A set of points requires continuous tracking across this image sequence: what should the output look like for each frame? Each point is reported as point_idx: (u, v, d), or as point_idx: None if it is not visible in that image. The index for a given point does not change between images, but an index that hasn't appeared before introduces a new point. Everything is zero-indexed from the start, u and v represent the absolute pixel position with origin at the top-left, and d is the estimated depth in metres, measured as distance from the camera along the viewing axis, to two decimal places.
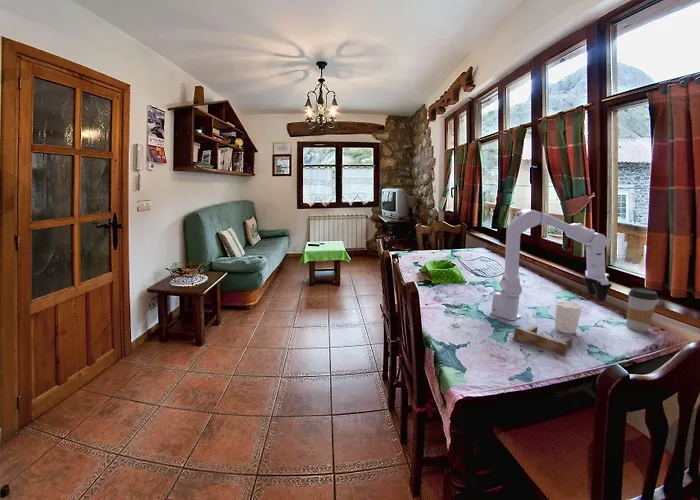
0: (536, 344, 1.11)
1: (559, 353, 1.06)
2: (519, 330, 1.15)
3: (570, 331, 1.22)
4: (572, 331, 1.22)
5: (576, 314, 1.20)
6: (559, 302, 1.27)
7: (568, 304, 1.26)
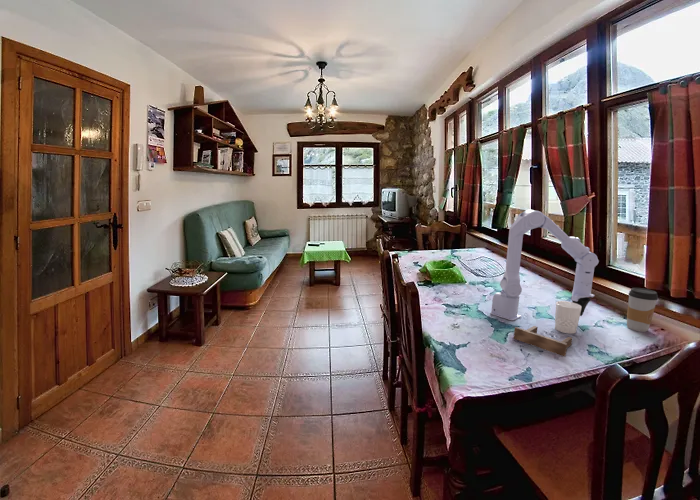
0: (536, 344, 1.11)
1: (559, 353, 1.06)
2: (519, 330, 1.15)
3: (570, 331, 1.22)
4: (572, 331, 1.22)
5: (576, 314, 1.20)
6: (559, 302, 1.27)
7: (568, 304, 1.26)
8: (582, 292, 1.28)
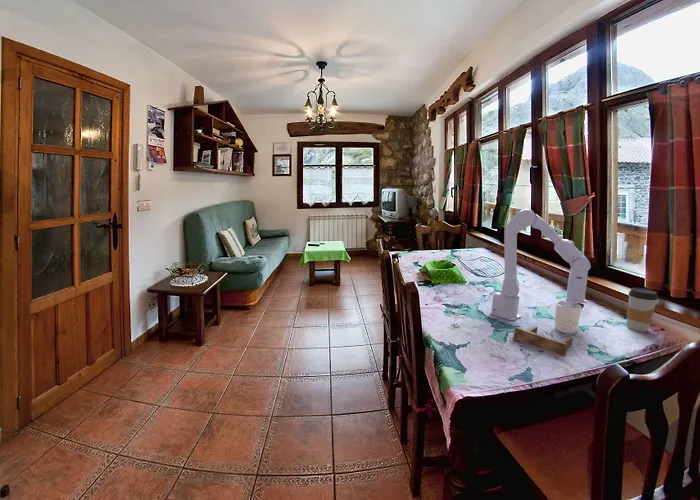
0: (536, 344, 1.11)
1: (559, 353, 1.06)
2: (519, 330, 1.15)
3: (570, 331, 1.22)
4: (572, 331, 1.22)
5: (576, 314, 1.20)
6: (559, 302, 1.26)
7: None
8: (575, 298, 1.24)
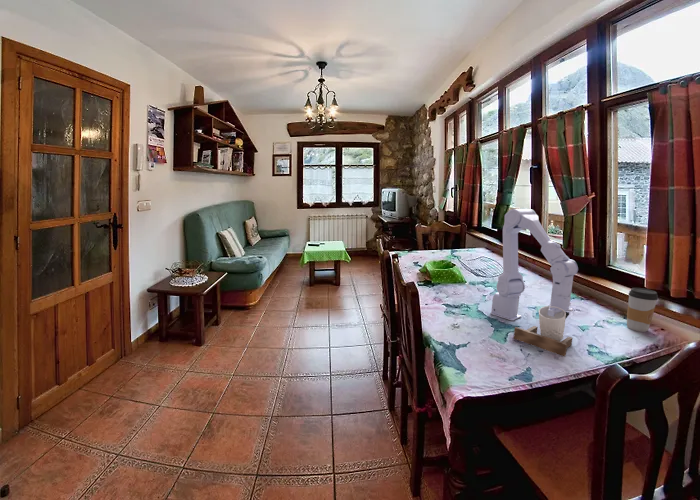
0: (536, 344, 1.11)
1: (559, 353, 1.06)
2: (519, 330, 1.15)
3: None
4: (558, 339, 1.14)
5: (560, 324, 1.11)
6: (542, 308, 1.17)
7: None
8: (560, 306, 1.15)
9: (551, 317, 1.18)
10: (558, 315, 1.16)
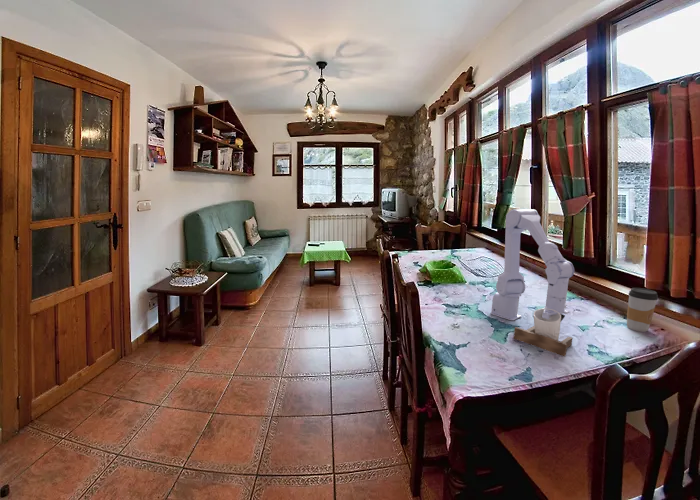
0: (536, 344, 1.11)
1: (559, 353, 1.06)
2: (519, 330, 1.15)
3: None
4: None
5: (555, 327, 1.09)
6: (537, 311, 1.15)
7: None
8: (555, 308, 1.13)
9: (546, 320, 1.16)
10: (553, 318, 1.14)
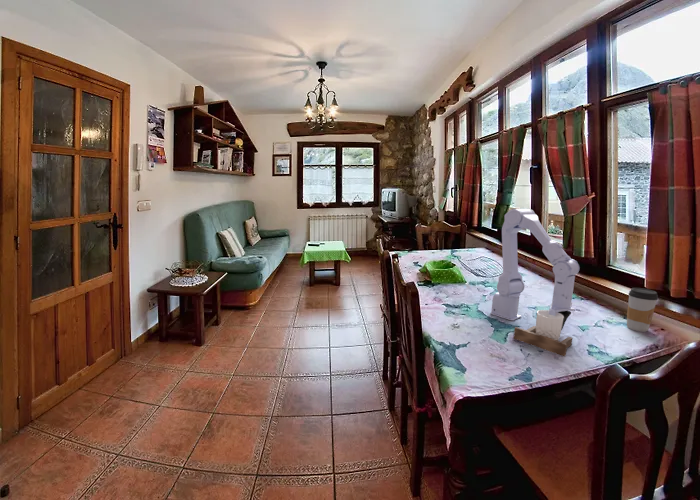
0: (536, 344, 1.11)
1: (559, 353, 1.06)
2: (519, 330, 1.15)
3: None
4: None
5: (557, 325, 1.10)
6: (540, 311, 1.17)
7: None
8: (561, 305, 1.16)
9: None
10: None
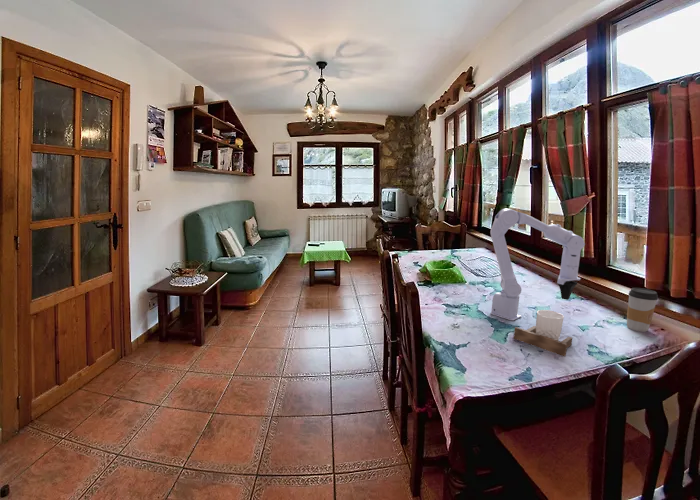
0: (536, 344, 1.11)
1: (559, 353, 1.06)
2: (519, 330, 1.15)
3: None
4: None
5: (557, 325, 1.10)
6: (540, 311, 1.17)
7: (550, 313, 1.17)
8: (568, 275, 1.27)
9: None
10: None
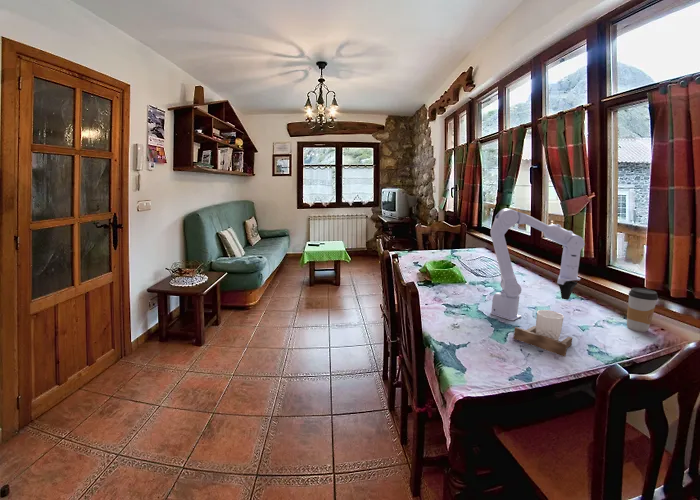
0: (536, 344, 1.11)
1: (559, 353, 1.06)
2: (519, 330, 1.15)
3: None
4: None
5: (557, 325, 1.10)
6: (540, 311, 1.17)
7: (550, 313, 1.17)
8: (568, 275, 1.27)
9: None
10: None
